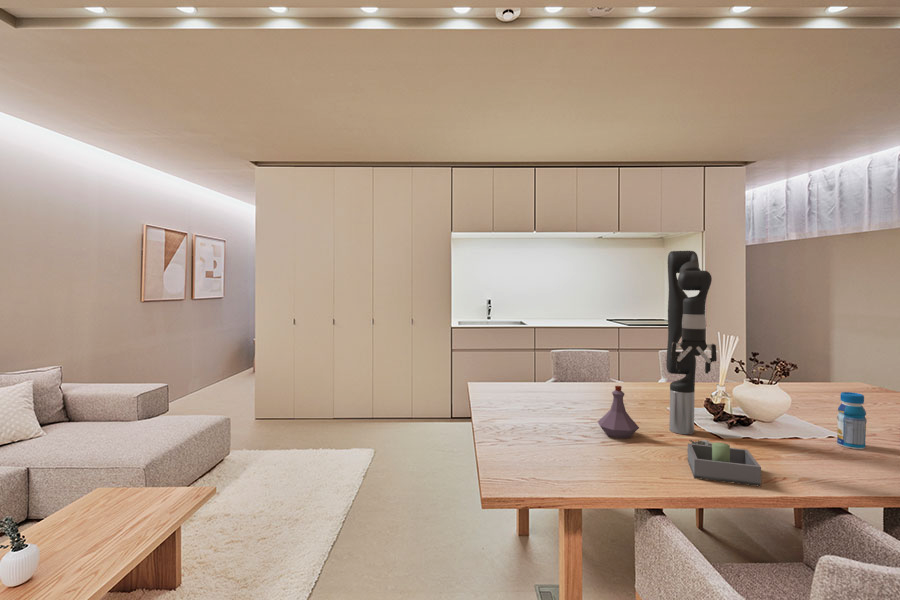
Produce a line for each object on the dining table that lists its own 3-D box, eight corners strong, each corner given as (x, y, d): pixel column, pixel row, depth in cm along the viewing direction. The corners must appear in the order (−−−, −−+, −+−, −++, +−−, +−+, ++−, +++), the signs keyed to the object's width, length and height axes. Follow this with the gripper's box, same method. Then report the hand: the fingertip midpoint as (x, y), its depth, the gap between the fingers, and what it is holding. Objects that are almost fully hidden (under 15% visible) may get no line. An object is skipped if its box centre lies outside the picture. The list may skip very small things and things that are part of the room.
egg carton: (687, 450, 173) (687, 439, 173) (701, 447, 176) (701, 436, 176) (713, 459, 163) (713, 448, 163) (728, 456, 166) (728, 445, 166)
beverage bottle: (855, 451, 171) (856, 397, 170) (830, 443, 179) (832, 392, 178) (871, 448, 173) (873, 395, 172) (846, 441, 181) (848, 390, 180)
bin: (687, 460, 162) (687, 443, 162) (747, 467, 156) (747, 449, 155) (694, 478, 147) (694, 459, 147) (760, 486, 141) (761, 467, 140)
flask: (601, 426, 201) (602, 380, 200) (642, 432, 192) (643, 384, 192) (592, 437, 187) (592, 387, 186) (635, 444, 178) (636, 392, 178)
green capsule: (711, 465, 154) (711, 441, 154) (728, 467, 152) (728, 443, 152) (713, 471, 150) (713, 446, 150) (731, 473, 148) (730, 448, 148)
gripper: (714, 326, 165) (713, 371, 166) (670, 325, 170) (669, 369, 171) (718, 328, 158) (717, 375, 159) (672, 327, 163) (672, 373, 164)
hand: (693, 372), depth 165 cm, fingers open, 8 cm apart
